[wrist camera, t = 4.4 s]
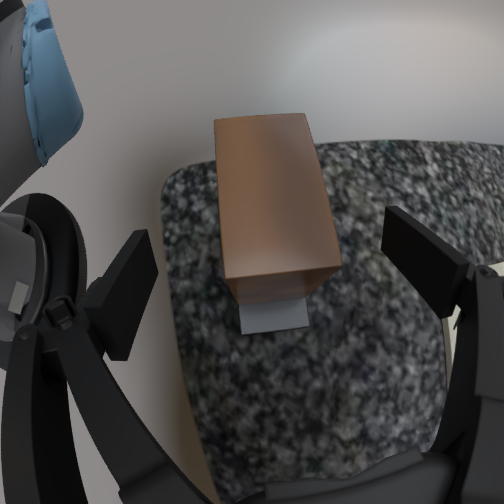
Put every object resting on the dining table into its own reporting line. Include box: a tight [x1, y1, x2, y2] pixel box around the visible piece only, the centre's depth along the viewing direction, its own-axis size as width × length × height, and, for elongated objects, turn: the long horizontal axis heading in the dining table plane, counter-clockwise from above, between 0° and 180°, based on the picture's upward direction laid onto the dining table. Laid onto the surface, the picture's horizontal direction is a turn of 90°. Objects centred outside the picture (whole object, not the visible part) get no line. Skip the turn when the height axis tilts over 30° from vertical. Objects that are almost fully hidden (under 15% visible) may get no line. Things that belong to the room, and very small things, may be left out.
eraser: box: [214, 113, 343, 335], centre depth 17 cm, size 5×12×11 cm, turn 6°
